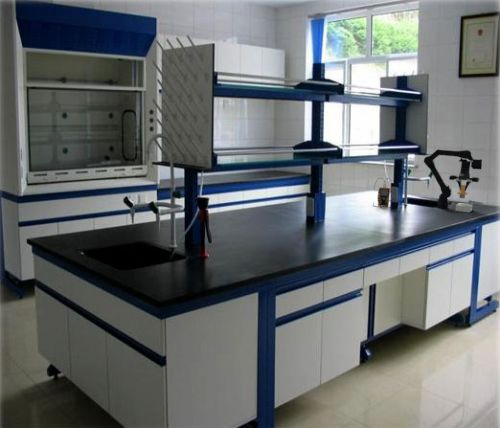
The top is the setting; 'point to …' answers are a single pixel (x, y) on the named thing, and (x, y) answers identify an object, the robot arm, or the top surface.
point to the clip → (474, 202)
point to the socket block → (464, 207)
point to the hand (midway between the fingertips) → (462, 190)
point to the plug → (462, 191)
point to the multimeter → (383, 195)
